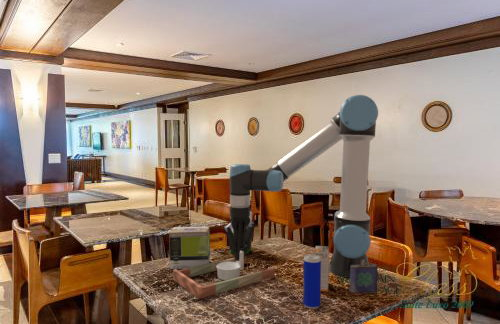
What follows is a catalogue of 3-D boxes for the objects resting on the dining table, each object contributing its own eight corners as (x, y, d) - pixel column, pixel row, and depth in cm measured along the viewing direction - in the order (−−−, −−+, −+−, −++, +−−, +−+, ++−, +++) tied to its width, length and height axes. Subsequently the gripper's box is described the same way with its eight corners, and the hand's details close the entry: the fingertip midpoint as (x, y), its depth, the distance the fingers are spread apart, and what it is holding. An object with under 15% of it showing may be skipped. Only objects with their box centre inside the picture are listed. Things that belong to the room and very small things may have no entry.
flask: (351, 294, 117) (351, 261, 117) (347, 290, 120) (348, 258, 120) (378, 293, 118) (379, 260, 118) (374, 289, 121) (375, 258, 121)
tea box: (210, 260, 150) (210, 225, 149) (208, 269, 140) (208, 231, 139) (173, 261, 150) (173, 225, 149) (169, 269, 140) (168, 231, 139)
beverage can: (307, 300, 113) (308, 252, 112) (323, 304, 110) (323, 255, 109) (300, 306, 108) (300, 257, 108) (316, 311, 105) (316, 260, 105)
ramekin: (216, 272, 136) (216, 261, 136) (240, 272, 136) (240, 261, 136) (216, 282, 127) (216, 269, 127) (241, 281, 128) (241, 269, 127)
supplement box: (328, 292, 119) (329, 253, 118) (313, 291, 120) (314, 252, 119) (328, 282, 127) (328, 245, 126) (314, 281, 128) (314, 245, 127)
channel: (274, 276, 132) (274, 267, 132) (198, 298, 114) (198, 287, 114) (244, 262, 148) (244, 253, 147) (173, 279, 129) (173, 269, 129)
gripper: (248, 202, 140) (248, 262, 142) (219, 206, 133) (219, 269, 134) (260, 205, 134) (259, 267, 136) (230, 209, 127) (230, 275, 128)
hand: (239, 268), depth 135 cm, fingers closed
